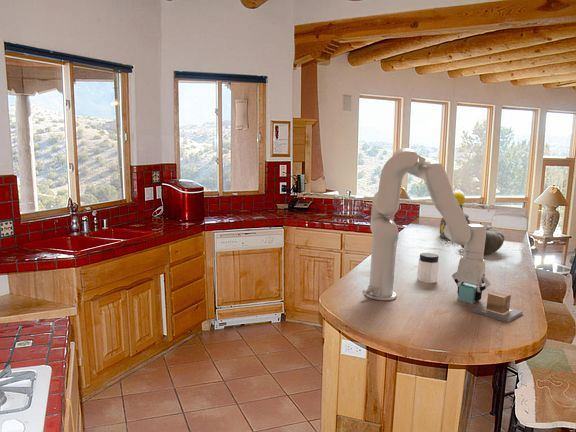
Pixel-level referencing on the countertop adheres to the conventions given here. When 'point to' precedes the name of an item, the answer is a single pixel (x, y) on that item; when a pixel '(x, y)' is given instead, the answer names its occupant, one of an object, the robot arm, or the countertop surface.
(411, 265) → the countertop surface
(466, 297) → the teal block
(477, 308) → the grey square plate
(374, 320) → the countertop surface
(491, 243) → the gourd
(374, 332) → the countertop surface
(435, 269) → the jar
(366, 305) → the countertop surface
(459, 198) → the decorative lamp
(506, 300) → the walnut block
